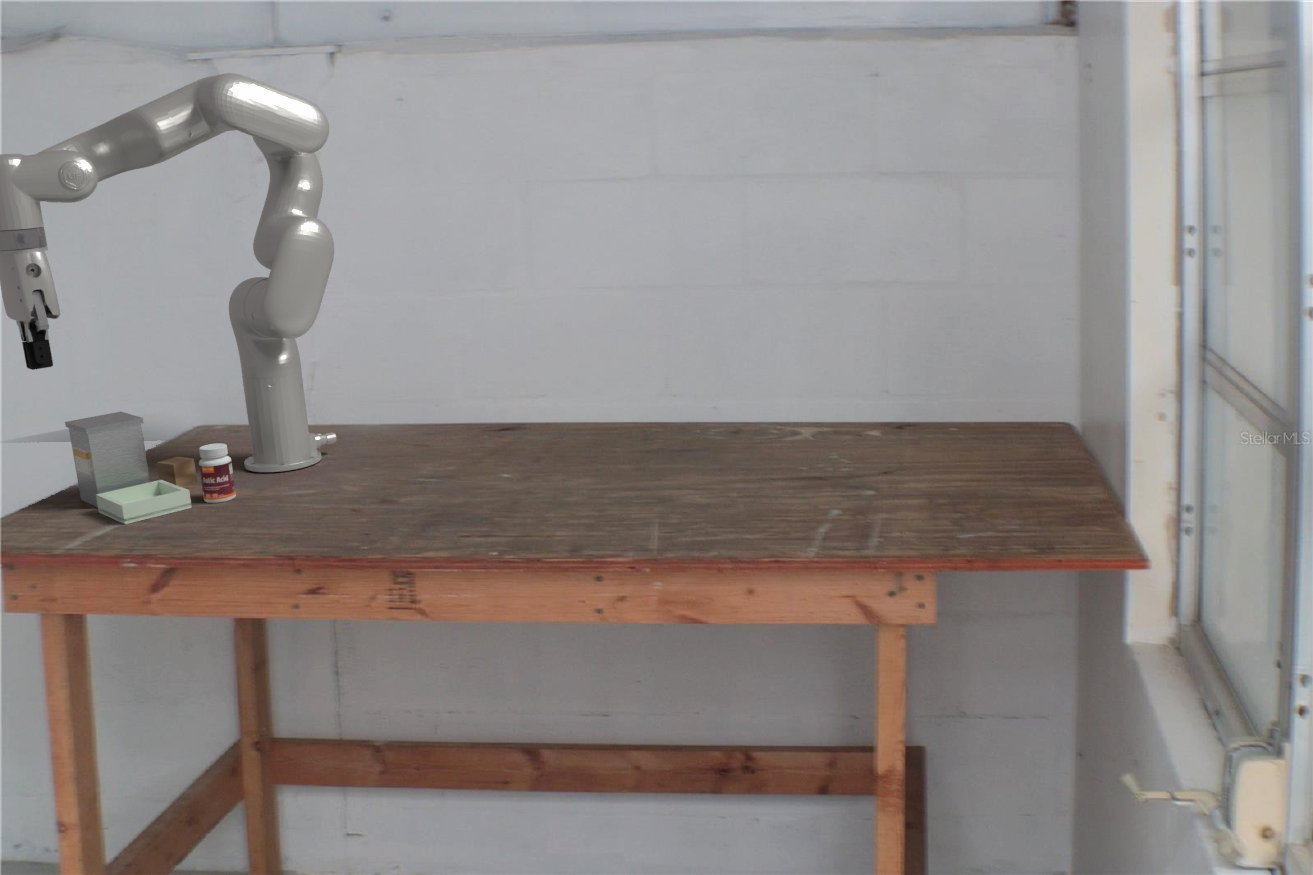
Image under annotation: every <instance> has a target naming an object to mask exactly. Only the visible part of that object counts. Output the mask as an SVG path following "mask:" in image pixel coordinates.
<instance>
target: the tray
mask: <svg viewBox="0 0 1313 875" xmlns="http://www.w3.org/2000/svg"><path fill="white" fill-rule="evenodd" d="M96 499H97V505H98V507H97V508H98V509H97V510H98V513H100V514H101V515H103V516H106V517H107V518H110V519H113V521H114V520H115V521H117V522H119V523H121V524H123V525H128V524H132V523H136V522H140V521H143V520H148V519H153V518H156V517H160V516H164V515H169V514H172V513H177V512H180V511H184V510H188V509H192V507H193V506H192V500H191V499H192V498H191V494H190V489H188V488H185V487H184V486H183V487H180V486H177V485H174V484H172V483H169V482H166V481H164V480H155V481H150V482H149V483H145V484H140V485H136V486H131V487H127V488H123V489H118V490H114V491H109V492H105V493H101V494H96Z"/></svg>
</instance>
